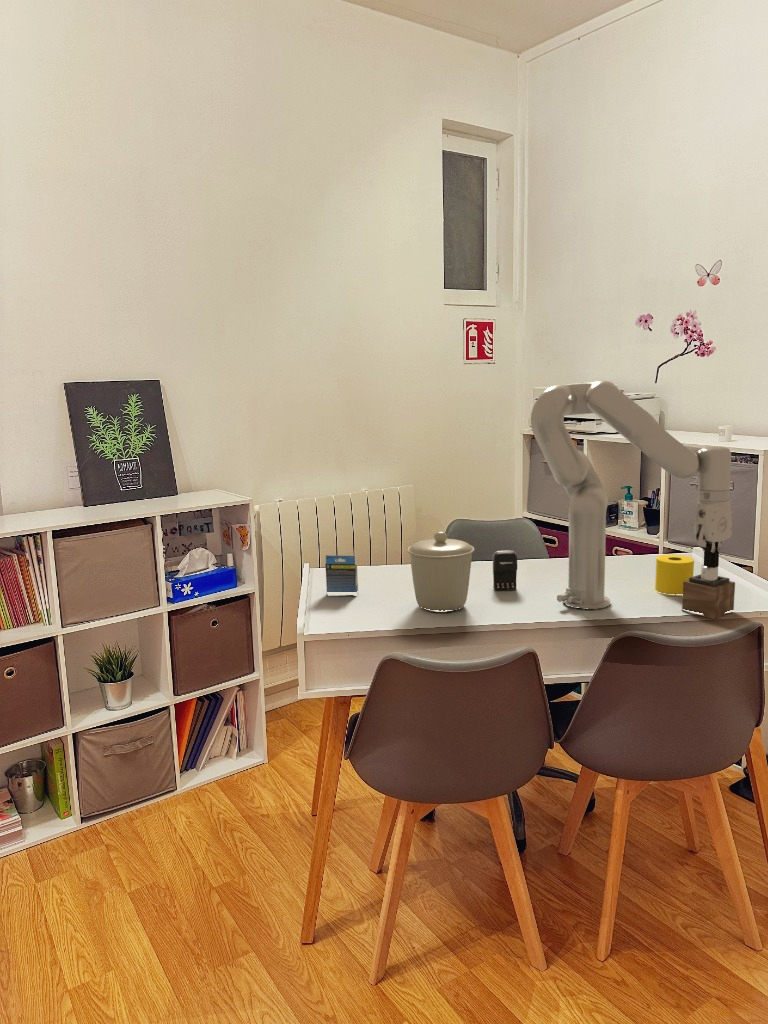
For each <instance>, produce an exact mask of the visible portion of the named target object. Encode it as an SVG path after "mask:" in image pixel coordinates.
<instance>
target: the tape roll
mask: <svg viewBox="0 0 768 1024" xmlns="http://www.w3.org/2000/svg"><path fill="white" fill-rule="evenodd" d="M694 565H695V559H694V558H693V557H692V556H691V557H690V556H687V555H681V554H662V555H659V556H656V558H655V585H654V591H655V590H657V591H658V592H661V593H666V594H675V595H676V594H683V581H686V580H689V578H690V577H694V570H695V569H694V568H695V566H694ZM658 592H657V593H658Z"/></svg>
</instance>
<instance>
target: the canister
mask: <svg viewBox="0 0 768 1024" xmlns="http://www.w3.org/2000/svg"><path fill="white" fill-rule="evenodd" d="M406 552H407V553H408V554H409V559H410V568H411V574H412V582H413V583H412V584H413V588H414V589H413V590H414V596H415V600H416V603H417V605H418V607H420V608H421V607H422V608H426V609H430V610H439V611H441V610H443V611H445V610H455V609H459V608H461V607H462V608H463V607H464V606H465V604H466V603H467V600H468V595H469V594H468V593H469V585H470V578H471V577H470V576H471V568H472V558H473V556H472V555H473V553H474V552H475V547H474V546H473V545H471V544H470V543H468V542H467V541H464V540H459V539H455V538H448V535H447V533H446V532H445V531H437V532H435V533H434V535H433V538H430V539H422V540H419V541H417V542H415V543H412V545H409V546H408V548H407V549H406ZM422 608H421V609H422ZM462 608H461V609H462ZM459 610H460V609H459Z"/></svg>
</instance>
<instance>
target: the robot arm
mask: <svg viewBox="0 0 768 1024" xmlns="http://www.w3.org/2000/svg"><path fill="white" fill-rule="evenodd" d="M587 414H588V415H590V414H594V415H595V416H596V417H598V418H599V419H601V420H602V421H603V422H605V424H607V425H608V426H610V427H611V428H612V429H614V430H615V432H617V433H618V434H619V435H621V436H622V437H623V438H624V439H625V440H627V441H628V442H629V443H630V444H631V445H633V446H634V447H635V448H637V449H638V450H639V451H641V452H642V453H643V454H645V456H647V457H648V458H649V459H650V460H652V461H653V462H654V463H655V464H657V466H658V467H661V468H662V470H664V471H665V472H667V473H668V474H669V475H670V476H672V477H674V478H675V479H678V480H686V479H690V478H693V476H695V475H696V474H697V475H698V476H697V477H698V478H697V480H698V481H697V500H696V501H697V505H696V512H695V520H694V538H695V540H697V546H698V547H701V548H702V551H703V565H704V566H707V567H712V568H715V567H718V568H719V564H720V563H719V562H720V561H719V559H720V558H719V557H720V551H721V547H722V544H723V543H725V541H726V540H728V539H729V538H731V537H732V534H733V515H732V505H731V504H732V503H731V500H730V491H731V473H732V472H731V469H732V451H731V450H730V449H729V448H727V447H724V446H723V447H722V446H708V447H707V446H705V447H700V446H699V447H698V446H689V445H688V446H687V445H684V444H682V443H681V442H680V441H679V440H678V439H676V438H675V437H674V436H673V435H671V434H670V433H669V432H668V431H667V430H666V429H664V428H663V426H661V425H660V424H659V422H658V421H657V420H656V418H655V417H654V416H653V415H651V413H650V412H648V411H647V410H646V409H644V408H643V407H642V406H640V405H639V404H638V403H636V401H634V400H633V399H631V398H630V397H629V396H628V395H626V394H625V393H624V392H622V391H621V390H620V389H618V387H617V386H616V385H615V384H614V383H613V382H611V381H607V380H599V381H592V382H580V383H569V384H568V383H567V384H556V385H552V386H550V387H548V388H546V389H545V390H543V392H542V393H541V394H540V395H539V396H538V398H537V399H536V401H535V403H534V405H533V406H532V410H531V412H530V428H531V430H532V434H533V435H534V438H535V441H536V443H537V445H538V447H539V449H540V450H541V453H542V455H543V457H544V459H545V461H546V462H545V463H546V464H547V466H548V468H549V470H550V472H551V474H552V476H553V478H554V479H553V480H555V481H556V483H557V484H558V485H560V486H561V487H563V488H564V490H565V491H566V494H567V496H568V497H569V498H570V501H569V504H568V510H567V511H568V514H567V515H568V517H567V518H568V579H567V580H568V583H567V584H568V587H567V588H565V592H564V593H562V594H561V593H560V594H558V595H557V596H556V600H557V602H559V603H562V604H563V603H565V604H567V605H570V606H573V607H579V608H588V609H594V610H597V609H596V608H602V609H605V608H604V607H606V608H608V607H609V606H610V604H611V600H610V598H608V597H607V596H605V585H606V584H605V582H606V579H605V578H606V576H605V575H606V538H607V537H606V536H607V533H606V530H607V529H606V527H607V523H606V521H607V520H606V519H607V509H608V504H609V497H608V494H607V492H606V489H605V488H604V486H603V484H602V482H601V480H600V478H599V476H598V474H597V472H596V470H595V468H594V466H593V464H592V462H591V460H590V459H589V457H588V456H587V455H586V454H585V453H584V452H582V451H581V450H580V449H578V448H577V447H576V445H575V443H574V441H573V439H572V436H571V435H570V433H569V431H568V429H567V427H566V425H565V421H564V419H565V416H574V415H575V416H576V415H587ZM562 601H563V602H562ZM607 606H608V607H607Z"/></svg>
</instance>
